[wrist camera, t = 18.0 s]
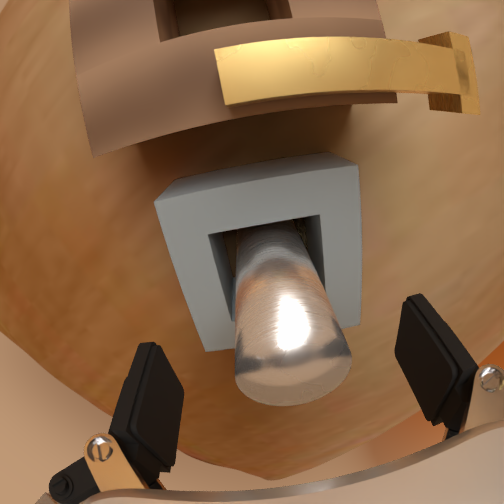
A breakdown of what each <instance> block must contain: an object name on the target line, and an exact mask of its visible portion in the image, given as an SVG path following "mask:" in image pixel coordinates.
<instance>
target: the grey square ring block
mask: <svg viewBox="0 0 504 504" xmlns="http://www.w3.org/2000/svg"><path fill="white" fill-rule="evenodd" d="M154 204H155V208H156V211H157V215H158V218H159V221H160V225H161V228H162V231H163V234H164V237H165V241H166V244H167V247H168V250H169V253H170V256H171V259H172V262H173V265H174V268H175V271H176V274H177V277H178V280H179V283H180V285H181V288H182V291H183V294H184V297H185V299H186V302H187V305H188V307H189V310H190V313H191V316H192V318H193V321H194V323H195V326H196V329H197V331H198V334H199V336H200V339H201V341H202V344H203V346H204V349H205V351H206V352H209V351H217V350H225V349H233V348H235V303H236V277H234V278H233V275H232V271H231V267H230V263H229V259H228V255H227V251H226V247H225V242H224V238H223V234H222V232H223V231H228V230H233V229H239V228H244V227H250V226H255V225H261V224H266V223H272V222H278V221H283V220H289V219H295V218H301V217H304V220H305V228H306V237H307V246H308V254H309V256H310V259H311V261H312V263H313V265H314V267H315V270H316V272H317V274H318V276H319V279H320V281H321V283H322V285H323V288H324V290H325V292H326V294H327V297H328V299H329V301H330V304H331V306H332V308H333V311H334V313H335V315H336V318H337V320H338V323H339V325H340V327H341V329H343V328H348V327H352V326H356V325H360V315H361V292H362V222H361V199H360V183H359V169H358V165H357V164H355V163H352V162H350V161H348V160H346V159H344V158H342V157H340V156H337V155H335V154H333V153H331V152H324V153H316V154H308V155H301V156H294V157H288V158H281V159H275V160H269V161H263V162H257V163H252V164H246V165H241V166H236V167H230V168H225V169H221V170H216V171H211V172H206V173H202V174H197V175H193V176H188V177H184V178H180V179H176V180H174V181H173V182H172V183H171V184H170V185H169V186H168V187H167V188H166V189H165V191H164V192H163V193H162V194H161V195H160V196H159V197H158V198H157V199H156V200H155V201H154Z"/></svg>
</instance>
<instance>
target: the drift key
mask: <svg viewBox="0 0 504 504" xmlns="http://www.w3.org/2000/svg"><path fill="white" fill-rule="evenodd" d="M418 41H419V43H418V42H411V41H403V40H394V39H383V38H368V37H306V38H291V39H280V40H270V41H262V42H254V43H248V44H241V45H235V46H230V47H224V48H219V49H214V52H215V57H216V62H217V67H218V72H219V77H220V82H221V87H222V92H223V97H224V102H225V105H226V106H227V107H228V108H230V107H235V106H241V105H246V104H252V103H258V102H265V101H272V100H279V99H286V98H295V97H304V96H315V95H327V94H343V93H375V92H389V93H420V94H428V99H429V107H430V110H436V111H447V112H456V113H465V114H476V115H480V105H479V96H478V87H477V80H476V74H475V67H474V62H473V57H472V52H471V47H470V42H469V38H468V37H467V36H464V35H460V34H457V33H453V32H445V33H441V34H437V35H434V36H430V37H426V38H423V39H419V40H418Z"/></svg>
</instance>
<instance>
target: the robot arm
mask: <svg viewBox="0 0 504 504" xmlns="http://www.w3.org/2000/svg"><path fill="white" fill-rule="evenodd" d="M395 357H396V359H397V361H398V363H399V365H400V367H401V369H402V371H403V373H404V375H405V377H406V378H407V380H408V382H409V385H410V387H411V389H412V391H413V393H414V395H415V397H416V399H417V401H418V403H419V405H420V407H421V409H422V412H423V414H424V416H425V418H426V420H427V421H431V423H432V425H433V426H435V425H437V424H440V423H442V422H443V423H444V425H445V427H446V430H445V433H444V436H443V439H442V442H440V443H438V444H436V445H433V446H431V447H428V448H426V449H423V450H421V451H418V452H416V453H413V454H411V455H408V456H405V457H403V458H400V459H398V460H394V461H392V462H389V463H386V464H383V465H379V466H376V467H373V468H370V469H367V470H363V471H359V472H355V473H352V474H348V475H344V476H339V477H336V478H331V479H326V480H322V481H316V482H311V483H305V484H299V485H293V486H285V487H278V488H270V489H258V490H245V491H220V492H203V491H172V490H166V488H165V487H164V486H163V484H162V483H161V482H160V480H159V479H158V478H159V474H160V472H170V469H171V466H174V464H175V459H176V451H177V443H178V435H179V428H180V420H181V413H182V406H183V399H184V389H183V387H182V385H181V383H180V381H179V380H178V378H177V376H176V374H175V372H174V371H173V369H172V367H171V365H170V363H169V361H168V359H167V357H166V356H165V354H164V352H163V350H162V348H161V346H160V345H156V343H155V342H147V343H140V344H139V346H138V348H137V351H136V354H135V357H134V359H133V362H132V365H131V368H130V371H129V374H128V377H127V378H126V379H125V381H124V384H123V387H122V390H121V393H120V396H119V399H118V402H117V405H116V409H115V412H114V415H113V418H112V422H111V425H110V429H109V432H108V434H106V433H98V434H95V435H93V436H92V437H90V438H89V439H88V441H87V442H86V444H85V446H84V457H82V458H81V459H79V460H77V461H76V462H74V463H73V464H71V465H70V466H68V467H67V468H65V469H63V470H61V471H60V472H58V473H57V474H55V475H54V476H53V477H52V479H51V480H50V483H49V493H44V494H43V495H42V496H41V498H40V499H39V500H38V501H37V502H36V503H35V504H504V370H503V369H502V368H500V367H499V366H496V365H493V364H487V365H484V366H482V367H481V368H479V367H478V366H477V364H476V363H475V361H474V360H473V358H472V357H471V356H470V354H469V353H468V351H467V350H466V349H465V347H464V346H463V344H462V343H461V342H460V340H459V339H458V338H457V336H456V335H455V334H454V332H453V331H452V330H451V328H450V327H449V326H448V324H447V323H446V322H445V321H443V319H442V318H441V317H440V315H439V314H438V313H437V312H436V310H435V309H434V308H433V307H432V305H431V304H430V303H429V302H428V301H427V299H426V298H425V297H424V296H423V295H422V294H420V293H419V294H416V295H412V296H409V297H407V298H406V301H404V302H403V305H402V311H401V318H400V324H399V329H398V335H397V340H396V345H395Z"/></svg>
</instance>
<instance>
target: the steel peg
mask: <svg viewBox="0 0 504 504" xmlns="http://www.w3.org/2000/svg"><path fill="white" fill-rule="evenodd" d="M351 364H352V356H351V352H350V349H349V347H348V344H347V342H346V339H345V337H344V335H343V332H342V330H341V327H340V325H339V323H338V320H337V318H336V315H335V313H334V311H333V308H332V306H331V304H330V301H329V299H328V297H327V294H326V292H325V290H324V288H323V285H322V283H321V281H320V279H319V276H318V274H317V272H316V270H315V267H314V265H313V263H312V261H311V259H310V256H309V254H308V252H307V250H306V248H305V246H304V243H303V241H302V239H301V237H300V235H299V233H298V231H297V228H296V226H295V224H294V222H293V220H292V219H289V220H283V221H278V222H272V223H266V224H261V225H255V226H250V227H244V228H239V229H237V247H236V303H235V380H236V384H237V386H238V388H239V389H240V390H241V392H243V393H244V394H245V395H246V396H247V397H249V398H250V399H252V400H254V401H257V402H259V403H263V404H266V405H272V406H293V405H300V404H304V403H308V402H311V401H314V400H317V399H319V398H321V397H323V396H325V395H327V394H328V393H330V392H331V391H333V390H334V389H336V388H337V387H338V386H339V385H340V384H341V383H342V382H343V381H344V379H345V378H346V377H347V375H348V373H349V371H350V368H351Z"/></svg>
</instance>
